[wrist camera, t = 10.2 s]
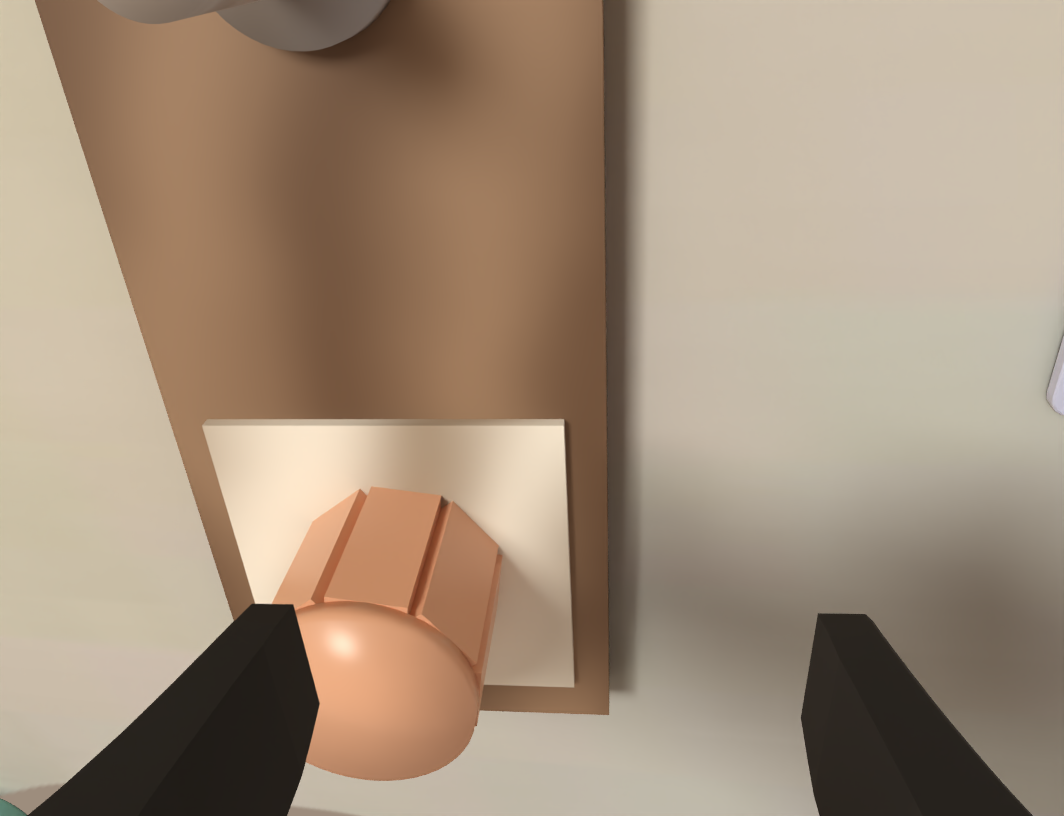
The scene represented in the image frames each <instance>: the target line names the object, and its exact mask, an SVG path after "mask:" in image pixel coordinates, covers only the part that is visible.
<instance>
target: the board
mask: <svg viewBox="0 0 1064 816" xmlns="http://www.w3.org/2000/svg"><path fill="white" fill-rule="evenodd" d="M35 2H36V5H37V8H38V12H39V15H40V18H41V21H42V24H43V27H44V30H45V33H46V37H47V40H48V43H49V46H50V49H51V52H52V55H53V58H54V61H55V65H56V68H57V71H58V74H59V77H60V80H61V83H62V86H63V90H64V93H65V96H66V99H67V102H68V105H69V108H70V111H71V114H72V118H73V121H74V124H75V127H76V130H77V133H78V136H79V139H80V143H81V146H82V149H83V152H84V155H85V158H86V161H87V164H88V167H89V171H90V174H91V177H92V180H93V183H94V186H95V189H96V192H97V196H98V199H99V202H100V205H101V208H102V211H103V214H104V217H105V220H106V224H107V227H108V230H109V233H110V236H111V239H112V242H113V245H114V249H115V252H116V255H117V258H118V261H119V264H120V267H121V270H122V273H123V277H124V280H125V283H126V286H127V289H128V292H129V295H130V298H131V302H132V305H133V308H134V311H135V314H136V317H137V320H138V323H139V326H140V330H141V333H142V336H143V339H144V342H145V345H146V348H147V351H148V354H149V358H150V361H151V364H152V367H153V370H154V373H155V376H156V379H157V383H158V386H159V389H160V392H161V395H162V398H163V401H164V404H165V407H166V411H167V414H168V417H169V420H170V423H171V426H172V429H173V432H174V436H175V439H176V442H177V445H178V448H179V451H180V454H181V457H182V460H183V464H184V467H185V470H186V473H187V476H188V479H189V482H190V485H191V489H192V492H193V495H194V498H195V501H196V504H197V507H198V510H199V513H200V517H201V520H202V523H203V526H204V529H205V532H206V535H207V538H208V542H209V545H210V548H211V551H212V554H213V557H214V560H215V563H216V566H217V570H218V573H219V576H220V579H221V582H222V585H223V588H224V591H225V595H226V598H227V601H228V604H229V607H230V610H231V613H232V616H233V619H234V621H235V620H236V619H237V618H238V617H239V616H240V615H241V614H242V613H243V612H244V611H245V610H246V609H247V608H248V607H249V606H250V605H251V604H272V602H273V600H274V598H275V596H276V594H277V592H278V590H279V588H280V586H281V584H282V582H283V580H284V578H285V576H286V574H287V572H288V570H289V568H290V566H291V564H292V562H293V560H294V558H295V556H296V554H297V552H298V550H299V548H300V546H301V544H302V542H303V540H304V538H305V536H306V534H307V532H308V530H309V528H310V526H311V524H312V522H313V521H314V520H315V519H317V518H318V517H320V516H321V515H322V514H324V513H325V512H327V511H328V510H330V509H331V508H333V507H334V506H335V505H337V504H338V503H340V502H341V501H343V500H344V499H346V498H347V497H348V496H350V495H351V494H353V493H354V492H356V491H357V490H359V489H361V490H362V491H363V492H364V493H365V494H366V495H368V493H369V491H370V488H371V486H373V487H381V488H389V489H396V490H404V491H412V492H419V493H427V494H435V495H441V508H442V507H444V506H446V505H447V504H449V503H450V502H452V501H454V502H455V503H456V504H457V505H458V506H459V507H460V508H461V509H462V510H463V511H464V512H465V513H466V514H467V515H468V516H469V517H470V518H471V519H472V520H473V521H474V522H475V523H476V524H477V525H478V526H479V527H480V528H481V529H482V530H483V531H484V532H485V533H486V534H487V535H488V536H489V537H490V538H491V539H493V540H494V541H495V542H496V543H497V544H498V545H499V547H498V552H497V554H499V555H502V565H501V575H500V585H499V595H498V605H497V611H496V617H495V623H494V628H493V634H492V640H491V646H490V652H489V658H488V663H487V669H486V675H485V681H484V687H483V693H482V698H481V704H480V710H485V711H513V712H542V713H570V714H598V715H609V589H608V477H607V364H606V251H605V139H604V26H603V0H35Z"/></svg>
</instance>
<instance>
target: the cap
mask: <svg viewBox="0 0 1064 816" xmlns="http://www.w3.org/2000/svg"><path fill="white" fill-rule="evenodd" d="M498 547H499V545H498V544H497V543H496V542H495V541H494V540H493V539H491V538H490V537H489V536H488V535H487V534H486V533H485V532H484V531H483V530H482V529H481V528H480V527H479V526H478V525H477V524H476V523H475V522H474V521H473V520H472V519H471V518H470V517H469V516H468V515H467V514H466V513H465V512H464V511H463V510H462V509H461V508H460V507H459V506H458V505H457V504H456V503H455V502H454V501H452V502H450V503H449V504H447V505H446V506H444V507H442V508H441V495H435V494H427V493H419V492H412V491H404V490H396V489H389V488H381V487H373V486H371V488H370V491H369V493H368V495H366V494H365V493H364V492H363V491H362V490H361V489H359V490H357V491H356V492H354V493H353V494H351V495H350V496H348V497H347V498H346V499H344V500H343V501H341V502H340V503H338V504H337V505H335V506H334V507H333V508H331V509H330V510H328V511H327V512H325V513H324V514H322V515H321V516H320V517H318V518H317V519H315V520H314V521H313V522H312V524H311V526H310V528H309V530H308V532H307V534H306V536H305V538H304V540H303V542H302V544H301V546H300V548H299V550H298V552H297V554H296V556H295V558H294V560H293V562H292V564H291V566H290V568H289V570H288V572H287V574H286V576H285V578H284V580H283V582H282V584H281V586H280V588H279V590H278V592H277V594H276V596H275V598H274V600H273V602H272V604H293V605H294V609H295V612H296V616H297V620H298V624H299V627H300V631H301V635H302V639H303V642H304V646H305V650H306V654H307V657H308V661H309V665H310V669H311V672H312V676H313V680H314V684H315V687H316V691H317V695H318V699H319V702H320V705H319V709H318V714H317V718H316V722H315V726H314V731H313V735H312V739H311V743H310V747H309V751H308V754H307V758H306V762H307V763H309V764H312V765H314V766H316V767H318V768H321V769H324V770H326V771H329V772H332V773H335V774H339V775H343V776H347V777H352V778H358V779H365V780H377V781H391V780H403V779H409V778H415V777H419V776H422V775H426V774H429V773H431V772H434V771H436V770H439V769H440V768H442V767H444V766H446V765H448V764H449V763H450V762H452V761H453V760H454V759H456V758H457V757H458V756H459V755H460V754H461V753H462V752H463V750H464V749H465V748H466V746H467V745H468V743H469V742H470V739H471V737H472V734H473V732H474V726H477V722H478V716H479V710H480V704H481V698H482V693H483V687H484V681H485V675H486V669H487V663H488V658H489V652H490V646H491V640H492V634H493V628H494V623H495V617H496V611H497V605H498V595H499V585H500V575H501V565H502V555H499V554H497V552H498Z"/></svg>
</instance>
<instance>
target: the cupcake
mask: <svg viewBox="0 0 1064 816" xmlns="http://www.w3.org/2000/svg"><path fill="white" fill-rule="evenodd" d="M0 816H28V815H26V814H25V813H24V812H23V811H22V810H20V809H19V808H17V807H16V806H14V805H12V804H11V803H9V802H7V801H5V800H3V799H0Z"/></svg>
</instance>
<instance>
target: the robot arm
mask: <svg viewBox="0 0 1064 816" xmlns="http://www.w3.org/2000/svg"><path fill="white" fill-rule="evenodd" d="M1047 401H1048V402H1049V404H1050V406H1051V407H1052V408H1053V409H1054V410H1055V411H1056V412H1058V413H1059V414H1061V415H1064V336H1063V340H1062V343H1061V346H1060V350H1059V353H1058V356H1057V360H1056V363H1055V366H1054V370H1053V373H1052V376H1051V380H1050V383H1049V387H1048V390H1047ZM319 705H320V702H319V699H318V695H317V691H316V687H315V684H314V680H313V676H312V672H311V669H310V665H309V661H308V657H307V654H306V650H305V646H304V642H303V639H302V635H301V631H300V627H299V624H298V620H297V616H296V612H295V609H294V605H293V604H251V605H250V606H249V607H248V608H247V609H246V610H245V611H244V612H243V613H242V614H241V615H240V616H239V617H238V618H237V619H236V620H235V621H234V622H233V623H232V624H231V625H230V626H229V627H228V628H227V629H226V630H225V631H224V632H223V633H222V634H221V635H220V636H219V637H218V638H217V639H216V640H215V641H214V642H213V643H212V644H211V645H210V646H209V647H208V648H207V649H206V650H205V651H204V652H203V653H202V654H201V655H200V656H199V657H198V658H197V659H196V660H195V661H194V662H193V663H192V664H191V665H190V666H189V667H188V668H187V669H186V670H185V671H184V672H183V673H182V674H181V675H180V676H179V677H178V678H177V679H176V680H175V681H174V682H173V683H172V684H171V685H170V686H169V687H168V688H167V689H166V690H165V691H164V692H163V693H162V694H161V695H160V696H159V697H158V698H157V699H156V700H155V701H154V702H153V703H152V704H151V705H150V706H149V707H148V708H147V709H146V710H145V711H144V712H143V713H142V714H141V715H140V716H139V717H138V718H137V719H136V720H134V721H133V722H132V723H131V724H130V725H129V726H128V727H127V728H126V729H125V730H124V731H123V732H122V733H121V734H120V735H119V736H118V737H117V738H115V739H114V740H113V741H112V742H111V743H110V744H109V745H108V746H107V747H106V748H104V749H103V750H102V751H101V752H100V753H99V754H98V755H97V756H96V757H94V758H93V759H92V760H91V761H90V762H89V763H88V764H87V765H86V766H85V767H83V768H82V769H81V770H80V771H79V772H78V773H77V774H76V775H75V776H74V777H72V778H71V779H70V780H69V781H68V782H67V783H66V784H65V785H63V786H62V787H61V788H60V789H59V790H58V791H56V792H55V793H54V794H53V795H52V796H51V797H49V798H48V799H47V800H46V801H45V802H43V803H42V804H41V805H40V806H38V807H37V808H36V809H35V810H34V811H32V812H31V813H30V814H29V815H28V816H287V814H288V812H289V809H290V806H291V804H292V801H293V798H294V796H295V793H296V790H297V787H298V785H299V782H300V779H301V776H302V773H303V770H304V766H305V762H306V758H307V754H308V751H309V747H310V743H311V739H312V735H313V731H314V726H315V722H316V718H317V714H318V709H319ZM801 721H802V727H803V733H804V740H805V746H806V752H807V759H808V764H809V770H810V776H811V781H812V787H813V793H814V797H815V801H816V804H817V808H818V812H819V815H820V816H1032V814H1031V813H1030V812H1029V811H1028V810H1027V809H1026V808H1025V807H1024V806H1023V805H1022V804H1021V803H1020V801H1019V800H1018V799H1017V798H1016V797H1015V796H1014V795H1013V794H1012V793H1011V792H1010V791H1009V790H1008V788H1007V787H1006V786H1005V785H1004V784H1003V783H1002V782H1001V780H1000V779H999V778H998V777H997V776H996V775H995V774H994V773H993V771H992V770H991V769H990V768H989V767H988V766H987V765H986V763H985V762H984V761H983V760H982V759H981V758H980V756H979V755H978V754H977V753H976V752H975V750H974V749H973V748H972V747H971V746H970V745H969V743H968V742H967V741H966V740H965V739H964V737H963V736H962V735H961V734H960V733H959V732H958V730H957V729H956V728H955V727H954V726H953V724H952V723H951V722H950V721H949V720H948V718H947V717H946V716H945V715H944V713H943V712H942V711H941V710H940V709H939V707H938V706H937V705H936V704H935V702H934V701H933V700H932V699H931V697H930V696H929V695H928V693H927V692H926V691H925V690H924V688H923V687H922V686H921V685H920V683H919V682H918V681H917V679H916V678H915V677H914V676H913V674H912V673H911V672H910V670H909V669H908V668H907V666H906V665H905V664H904V663H903V661H902V660H901V659H900V657H899V656H898V655H897V653H896V652H895V651H894V649H893V648H892V647H891V645H890V644H889V643H888V641H887V640H886V639H885V637H884V636H883V634H882V633H881V632H880V630H879V629H878V628H877V626H876V625H875V624H874V622H873V621H872V620H871V619H870V618H869V617H868V616H867V615H866V614H819V613H818V617H817V623H816V629H815V635H814V642H813V648H812V654H811V660H810V666H809V672H808V678H807V684H806V690H805V696H804V703H803V709H802V715H801Z"/></svg>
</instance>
